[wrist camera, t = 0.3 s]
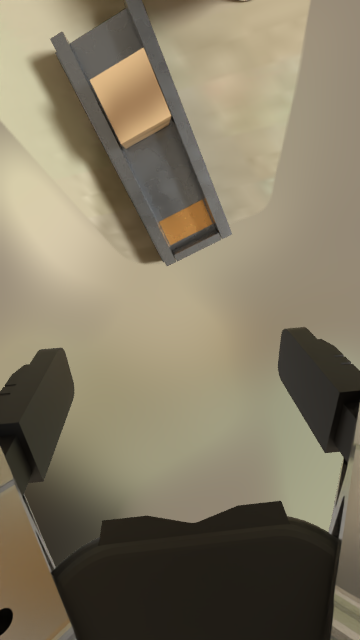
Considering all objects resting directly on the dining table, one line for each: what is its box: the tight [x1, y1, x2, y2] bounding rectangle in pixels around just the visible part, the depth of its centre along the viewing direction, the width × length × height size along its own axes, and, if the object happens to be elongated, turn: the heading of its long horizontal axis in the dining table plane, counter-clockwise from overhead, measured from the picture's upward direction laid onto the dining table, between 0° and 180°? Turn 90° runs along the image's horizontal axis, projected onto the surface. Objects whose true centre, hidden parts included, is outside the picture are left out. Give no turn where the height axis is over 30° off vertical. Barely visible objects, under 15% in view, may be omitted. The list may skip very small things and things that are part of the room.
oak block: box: [90, 47, 171, 149], centre depth 27 cm, size 5×5×5 cm
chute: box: [50, 0, 232, 266], centre depth 31 cm, size 22×9×4 cm, turn 26°
